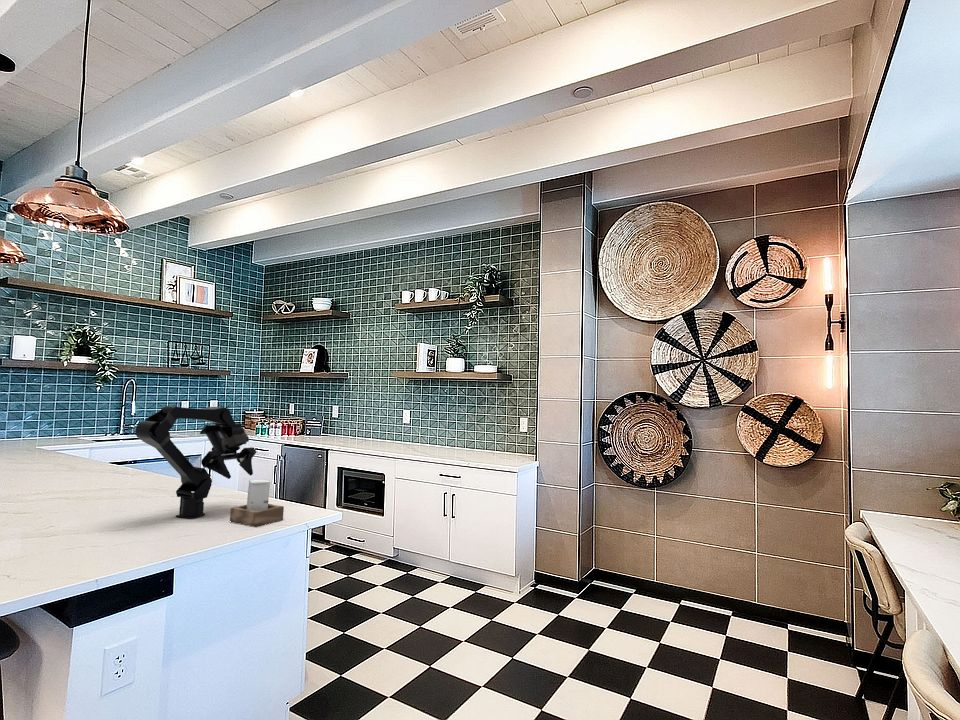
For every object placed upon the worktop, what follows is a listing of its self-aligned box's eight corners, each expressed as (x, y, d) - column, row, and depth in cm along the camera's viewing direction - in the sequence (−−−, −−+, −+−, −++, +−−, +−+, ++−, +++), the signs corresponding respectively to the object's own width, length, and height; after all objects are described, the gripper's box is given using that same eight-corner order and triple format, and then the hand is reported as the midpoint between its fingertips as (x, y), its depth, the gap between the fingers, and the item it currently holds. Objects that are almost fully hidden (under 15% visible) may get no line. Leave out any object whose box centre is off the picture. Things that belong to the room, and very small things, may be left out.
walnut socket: (229, 522, 176) (230, 507, 176) (257, 515, 186) (258, 502, 186) (255, 527, 171) (256, 512, 171) (282, 520, 181) (283, 506, 182)
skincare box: (248, 520, 175) (250, 482, 176) (245, 517, 179) (248, 480, 180) (267, 518, 178) (270, 481, 179) (264, 515, 182) (267, 479, 183)
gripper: (210, 426, 178) (231, 463, 173) (254, 424, 195) (275, 458, 190) (191, 448, 181) (212, 485, 176) (237, 444, 198) (257, 478, 193)
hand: (241, 476), depth 183 cm, fingers open, 9 cm apart
